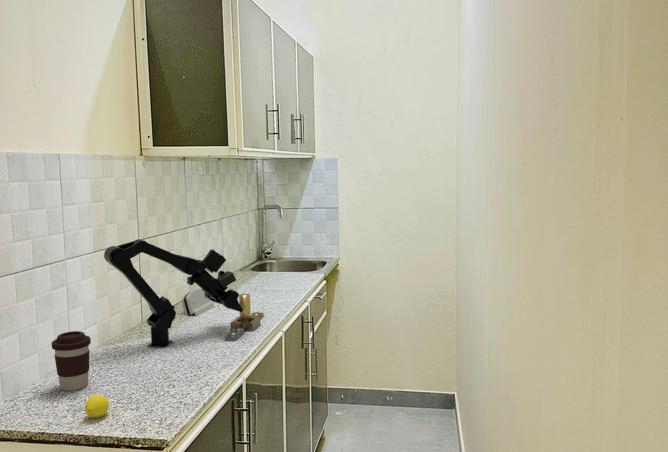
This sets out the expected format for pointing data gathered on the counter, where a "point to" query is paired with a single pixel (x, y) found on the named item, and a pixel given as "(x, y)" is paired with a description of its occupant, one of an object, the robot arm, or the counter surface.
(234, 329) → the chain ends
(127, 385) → the counter surface
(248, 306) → the brass pin
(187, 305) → the light grey block
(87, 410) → the lemon
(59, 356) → the coffee cup
